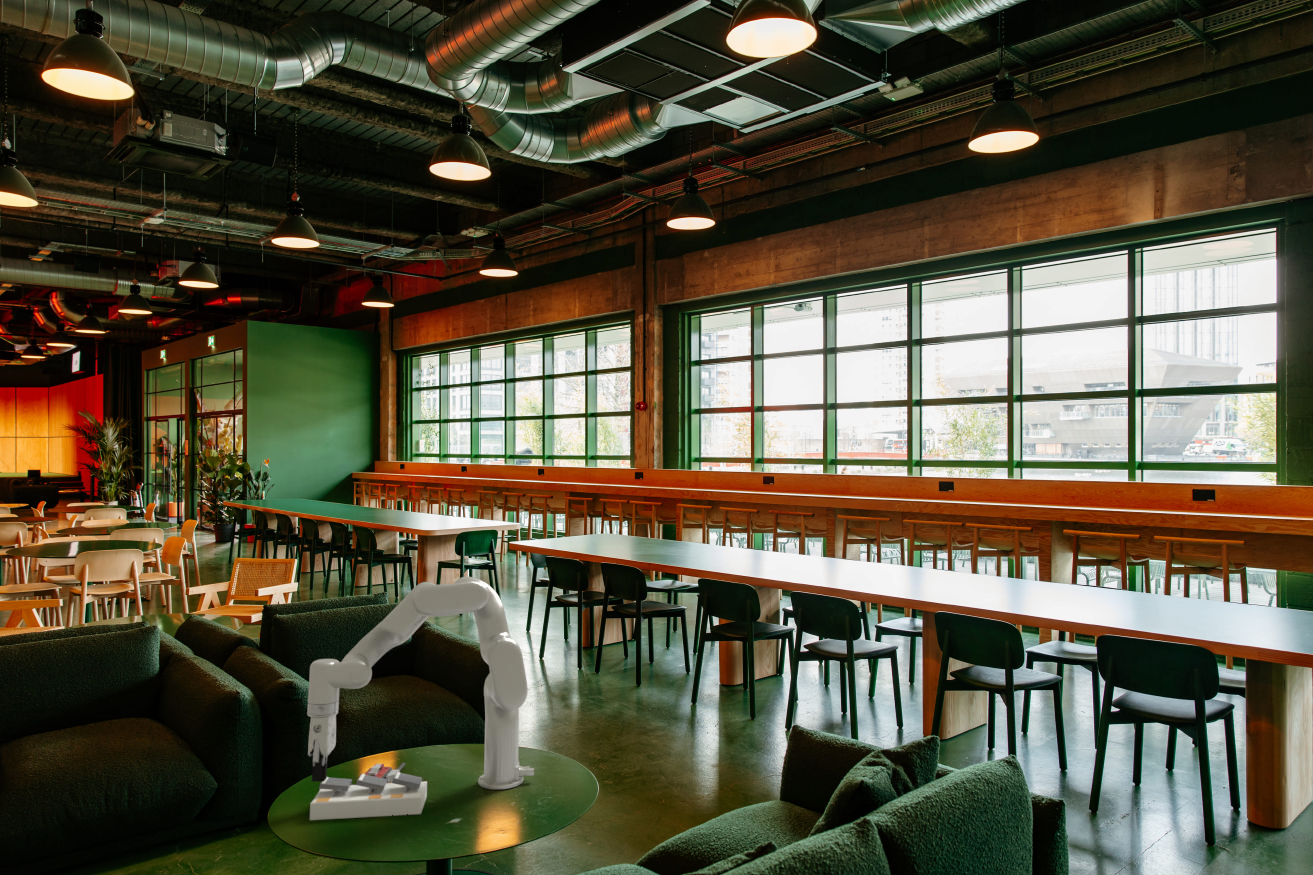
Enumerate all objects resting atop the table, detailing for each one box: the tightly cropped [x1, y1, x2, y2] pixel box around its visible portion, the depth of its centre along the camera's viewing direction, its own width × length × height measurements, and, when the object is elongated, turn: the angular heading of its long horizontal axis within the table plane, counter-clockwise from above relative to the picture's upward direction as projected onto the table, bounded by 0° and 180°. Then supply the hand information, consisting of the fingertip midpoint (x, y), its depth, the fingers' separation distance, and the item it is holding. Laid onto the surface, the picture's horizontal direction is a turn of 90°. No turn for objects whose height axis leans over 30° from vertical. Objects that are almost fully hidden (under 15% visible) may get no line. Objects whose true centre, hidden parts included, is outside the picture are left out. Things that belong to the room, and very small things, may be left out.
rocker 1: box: [318, 776, 353, 791], centre depth 209 cm, size 7×5×1 cm
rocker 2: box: [355, 773, 387, 791], centre depth 211 cm, size 7×5×1 cm
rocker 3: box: [391, 771, 423, 789], centre depth 212 cm, size 7×5×1 cm
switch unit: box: [309, 780, 428, 821], centre depth 210 cm, size 27×12×5 cm, turn 99°
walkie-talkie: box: [364, 762, 406, 783], centre depth 231 cm, size 9×4×20 cm
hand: (319, 779), depth 209 cm, fingers closed
